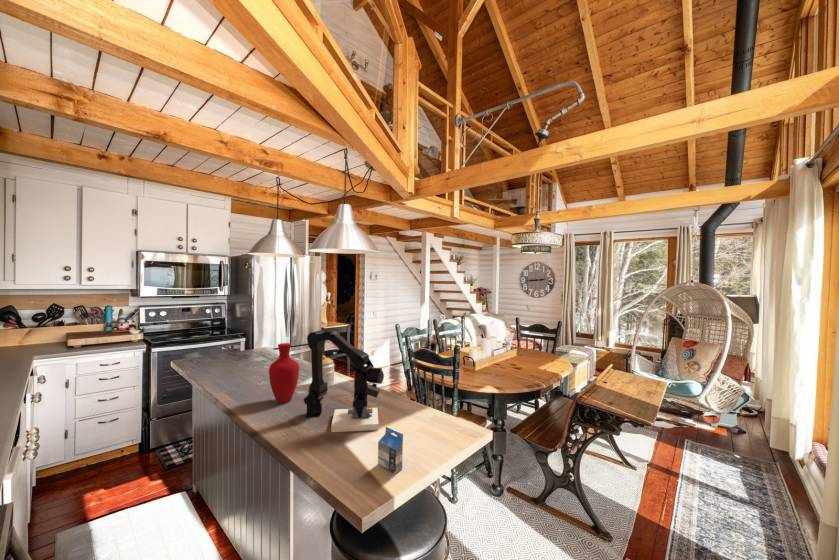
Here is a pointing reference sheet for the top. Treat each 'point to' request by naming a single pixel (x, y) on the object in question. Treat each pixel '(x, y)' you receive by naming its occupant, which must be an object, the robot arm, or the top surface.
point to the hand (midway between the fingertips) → (360, 415)
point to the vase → (284, 375)
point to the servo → (365, 413)
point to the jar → (328, 371)
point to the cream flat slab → (353, 421)
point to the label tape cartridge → (391, 451)
